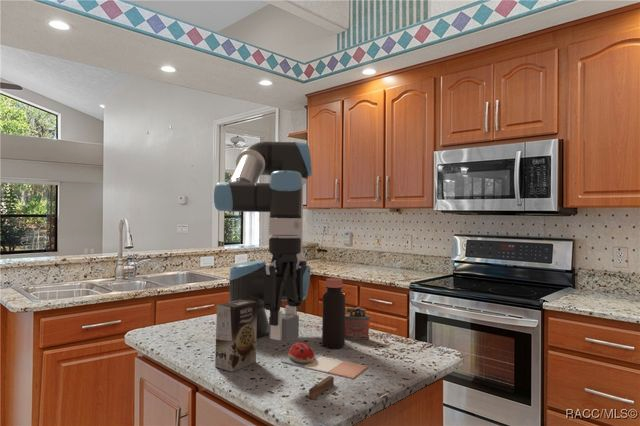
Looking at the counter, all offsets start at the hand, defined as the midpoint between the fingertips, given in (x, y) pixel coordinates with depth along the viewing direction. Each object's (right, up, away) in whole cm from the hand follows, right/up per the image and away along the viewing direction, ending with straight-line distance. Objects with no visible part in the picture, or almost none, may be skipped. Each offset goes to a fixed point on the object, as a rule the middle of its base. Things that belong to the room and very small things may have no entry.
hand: (283, 335), depth 97 cm
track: (+10, -11, +11) cm, 19 cm away
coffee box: (-13, -11, +11) cm, 20 cm away
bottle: (+13, -11, +28) cm, 32 cm away
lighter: (+20, -12, +35) cm, 42 cm away
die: (0, 0, 0) cm, 0 cm away
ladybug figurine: (+4, -11, +15) cm, 19 cm away
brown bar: (+9, -11, -5) cm, 15 cm away
